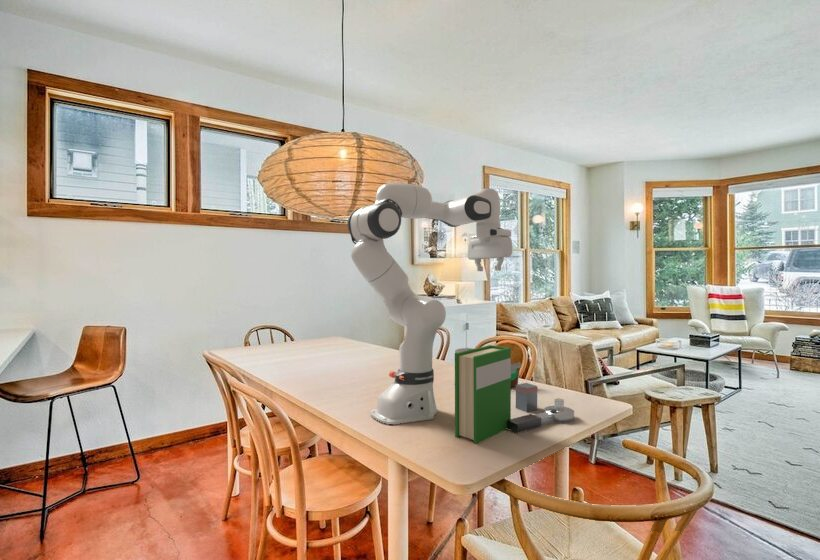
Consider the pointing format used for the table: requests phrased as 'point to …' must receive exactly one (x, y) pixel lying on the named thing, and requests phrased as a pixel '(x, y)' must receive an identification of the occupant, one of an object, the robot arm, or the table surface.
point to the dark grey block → (526, 397)
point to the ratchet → (542, 418)
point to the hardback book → (482, 392)
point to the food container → (515, 374)
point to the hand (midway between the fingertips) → (488, 270)
